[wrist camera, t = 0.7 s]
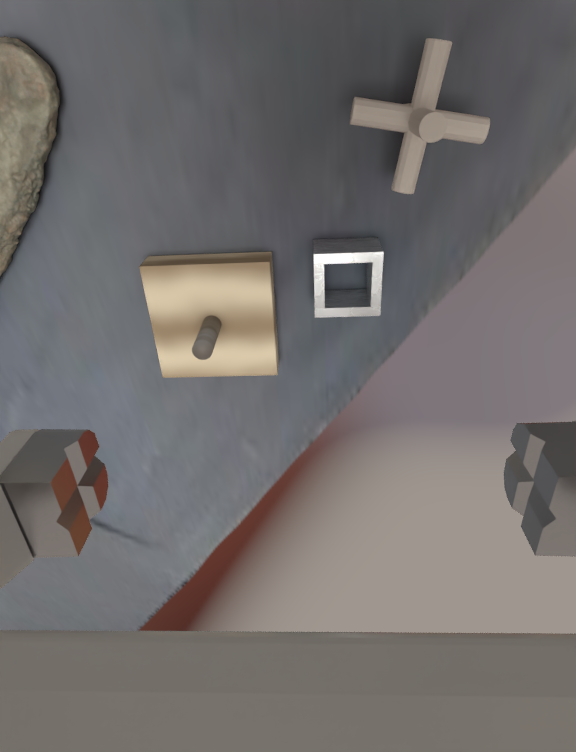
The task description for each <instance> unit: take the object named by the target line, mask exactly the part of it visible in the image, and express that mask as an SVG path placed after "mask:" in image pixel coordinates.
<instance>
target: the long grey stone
mask: <svg viewBox="0 0 576 752" xmlns="http://www.w3.org/2000/svg"><path fill="white" fill-rule="evenodd" d="M59 100H60V98H59V89H58V87H57V84H56V77H55V74H54V73H53V71H52V69H51V68H50V66H49V65H48V64H47V63H46V62H45V61H44V60H43V59H42V58H41V57H40V56H39V55H38V54H36V53H35V51H33V50H32V49H30V48H29V46H27V45H26V44H25V43H23V42H21V41H20V40H19V39H16V38H9V37H5V36H4V37H0V277H1V275H2V273H3V272H5V271H6V269H7V268H8V265H9V263H10V262H11V261H12V257H11V256H12V254H13V252H14V251H15V249H16V248H17V245H16V244H18V243H19V240H18V237H19V236H20V235H21V233H22V230H23V227H24V226H25V224H26V222H27V220H28V219H29V216H30V214H31V213H32V212H33V211H34V210H35V209H36V206H37V201H38V199H39V194H38V192H39V191H40V188H41V186H42V185H43V179H44V169H43V168H44V163H45V162H46V160H47V156H48V154H49V152H50V150H51V148H52V141H53V140H54V138H55V136H56V134H57V133H56V125H57V116H58V107H59V105H60V101H59Z"/></svg>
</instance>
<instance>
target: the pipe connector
mask: <svg viewBox="0 0 576 752" xmlns="http://www.w3.org/2000/svg"><path fill="white" fill-rule="evenodd" d="M451 46H452V42H450V41H446V40H440V39H431V38H426V42H425V46H424V51H423V55H422V59H421V64H420V68H419V72H418V77H417V81H416V85H415V90H414V94H413V98H412V103H407V104H398V103H392V102H385V101H379V100H373V99H366V98H360V97H354V100H353V104H352V109H351V116H350V124H351V125H357V126H364V127H370V128H377V129H383V130H390V131H396V132H403V133H404V137H403V141H402V146H401V150H400V154H399V159H398V163H397V167H396V172H395V176H394V180H393V185H392V190H393V191H396V192H400V193H405V194H414V190H415V186H416V183H417V179H418V175H419V171H420V167H421V163H422V159H423V155H424V151H425V147H426V143H427V142H429V143H433V142H437V141H438V140H440V139H441V138H442V139H449V140H456V141H462V142H469V143H475V144H482V143H483V142H484V141H485V139H486V137H487V134H488V131H489V127H490V119H489V117H482V116H476V115H469V114H463V113H457V112H450V111H444V110H437V109H435V108H436V104H437V100H438V96H439V92H440V89H441V85H442V81H443V77H444V73H445V69H446V65H447V61H448V57H449V53H450V49H451Z"/></svg>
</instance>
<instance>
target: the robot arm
mask: <svg viewBox="0 0 576 752" xmlns="http://www.w3.org/2000/svg"><path fill="white" fill-rule="evenodd" d="M511 442H512V444H513V446H514V448H515V449H516V451H515V452H514V453H513V454H512V455H511V456H510V457H508V458H507V459H506V465H505V470H504V485H505V491H506V494H507V498H508V500H509V502H510V505H511V507H512V508H513V509H514V510H516V511H517V512H518V513H520V514H521V515H523V516H524V517H523V520H522V525H521V527H522V529H523V532H524V534H525V536H526V537H527V540H528V541H529V544H530V546H531V548H532V550H533V552H534V554H535V555H540V556H541V555H543V556H576V421H572V422H547V423H517V425H516V426H515V428H514V429H513V433H512V437H511ZM98 448H99V444H98V441H97V438H96V435H95V433H94V432H92V431H90V430H65V429H41V430H38V429H33V430H15V431H12V432H9V434H8V435H7V436H6V437H5V438H4V439H3V440H2V442H1V443H0V589H1V588H2V587H3V586H5V585H6V584H7V583H8V582H9V581H10V580H12V579H13V578H14V577H15V576H16V575H17V574H18V573H20V572H21V571H22V570H23V569H24V568H25V567H27V566H28V565H29V564H30V563H31V562H32V561H33V560H34V558H42V557H74V556H79V554H80V552H81V550H82V548H83V546H84V544H85V542H86V540H87V538H88V536H89V534H90V532H91V530H92V527H91V524H90V521H89V519H91V518H92V517H93V516H95V515H96V514H97V513H99V512H100V511H101V509H102V507H103V505H104V503H105V501H106V497H107V491H108V474H107V470H106V467H105V464H104V463H103V462H101V461H100V460H99V459H98V458H97V457H96V456H95V454H96V452H97V450H98ZM0 752H576V634H542V633H393V632H388V633H387V632H231V631H230V632H227V631H226V632H224V631H222V632H220V631H65V630H0Z"/></svg>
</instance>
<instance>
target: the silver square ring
mask: <svg viewBox="0 0 576 752" xmlns="http://www.w3.org/2000/svg"><path fill="white" fill-rule="evenodd" d="M313 251H314V296H315V318H317V317H351V316H380V309H381V291H382V272H383V253H384V252H383V249H382V247H381V244H380V242H379V240H378V237H368V238H342V239H316V240H313ZM339 263H367V274H366V289H347V290H324V264H339Z"/></svg>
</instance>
